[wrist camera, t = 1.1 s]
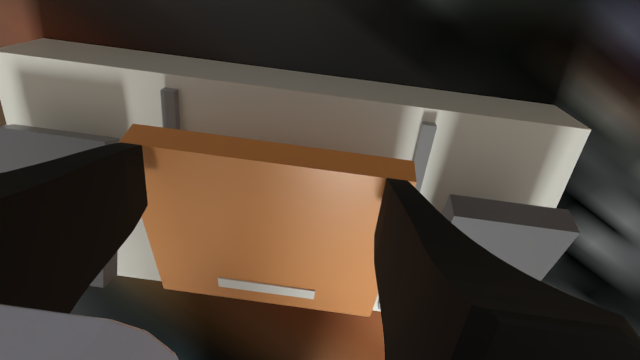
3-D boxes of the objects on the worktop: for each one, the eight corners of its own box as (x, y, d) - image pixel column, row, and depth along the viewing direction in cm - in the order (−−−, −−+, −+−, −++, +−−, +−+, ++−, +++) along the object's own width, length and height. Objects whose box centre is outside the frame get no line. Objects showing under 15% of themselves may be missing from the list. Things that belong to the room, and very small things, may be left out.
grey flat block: (502, 299, 17) (508, 322, 17) (409, 286, 17) (411, 308, 17) (568, 209, 14) (580, 234, 13) (449, 194, 14) (454, 217, 13)
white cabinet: (483, 284, 22) (510, 348, 18) (80, 229, 22) (25, 282, 18) (554, 105, 17) (609, 142, 13) (43, 38, 17) (-41, 56, 14)
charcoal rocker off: (117, 275, 16) (102, 288, 15) (19, 262, 16) (-2, 274, 15) (119, 138, 15) (103, 141, 14) (14, 124, 15) (-10, 126, 14)
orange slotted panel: (370, 296, 18) (370, 318, 17) (172, 269, 18) (163, 290, 18) (414, 160, 13) (416, 184, 12) (132, 123, 13) (117, 143, 12)
